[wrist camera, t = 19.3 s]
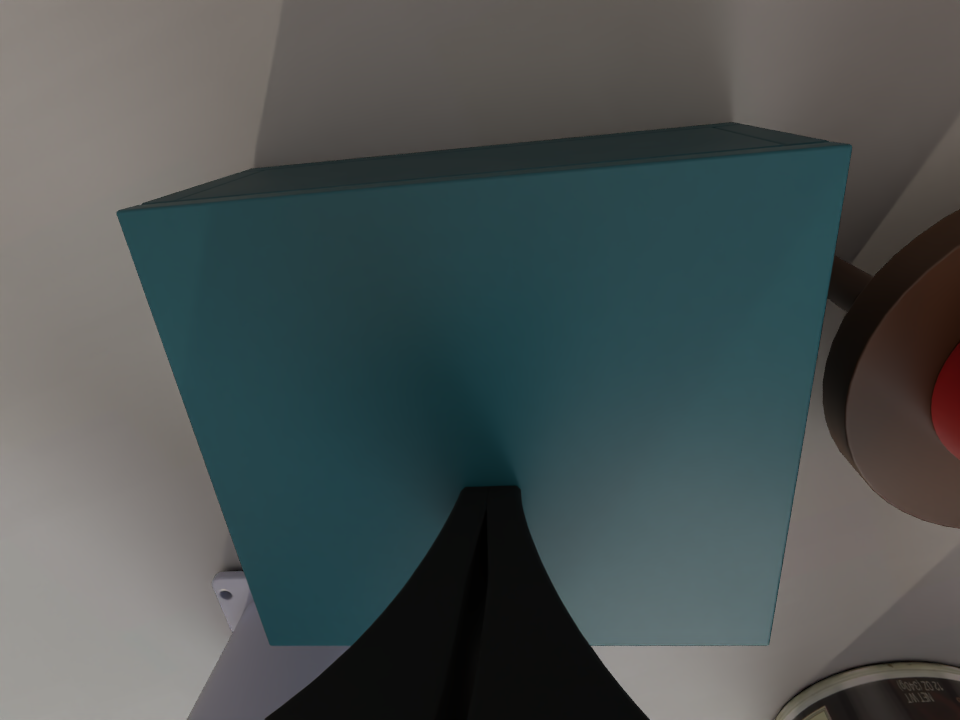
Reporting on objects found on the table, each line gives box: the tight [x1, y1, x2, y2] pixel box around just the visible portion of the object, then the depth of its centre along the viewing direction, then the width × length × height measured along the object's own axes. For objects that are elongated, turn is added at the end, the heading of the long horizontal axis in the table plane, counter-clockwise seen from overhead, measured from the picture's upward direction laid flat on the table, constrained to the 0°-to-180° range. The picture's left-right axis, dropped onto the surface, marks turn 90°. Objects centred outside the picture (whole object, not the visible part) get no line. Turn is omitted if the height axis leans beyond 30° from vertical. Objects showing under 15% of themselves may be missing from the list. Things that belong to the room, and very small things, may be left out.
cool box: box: [141, 122, 829, 205], centre depth 16 cm, size 12×14×5 cm
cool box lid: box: [117, 142, 852, 646], centre depth 13 cm, size 12×14×1 cm
